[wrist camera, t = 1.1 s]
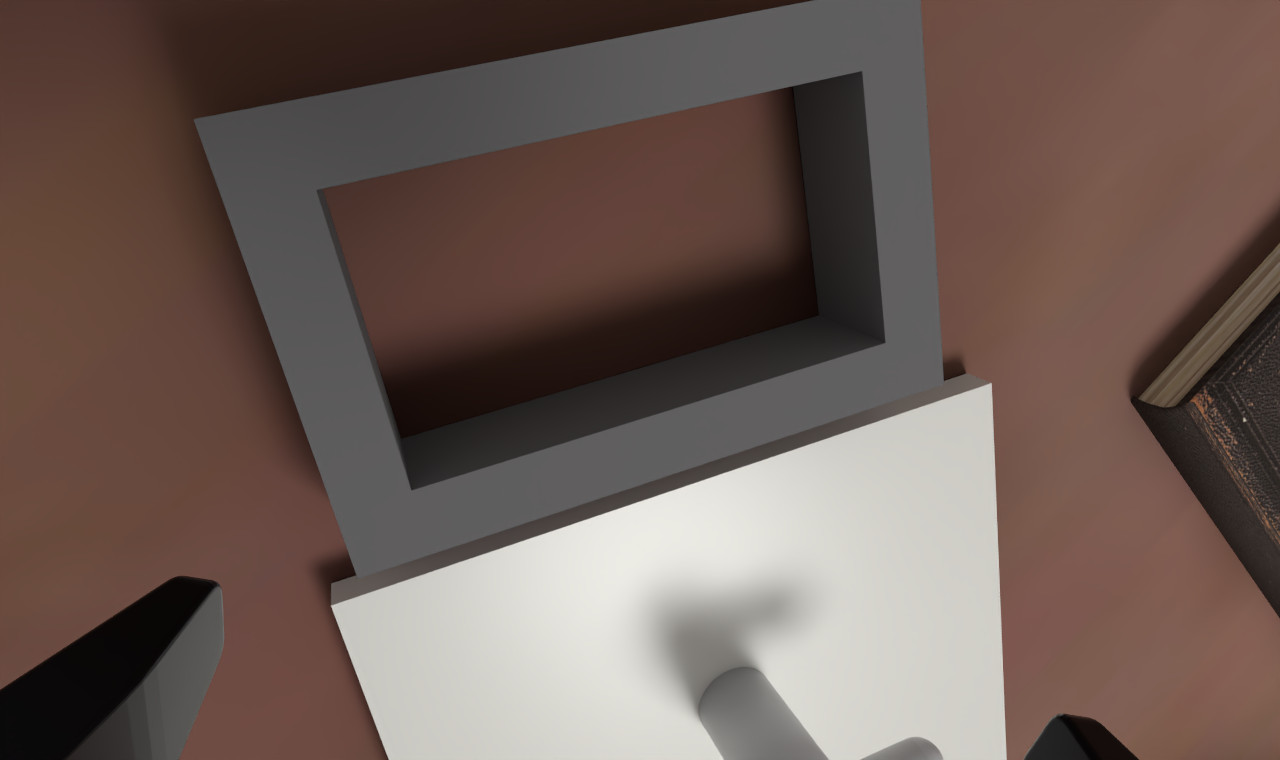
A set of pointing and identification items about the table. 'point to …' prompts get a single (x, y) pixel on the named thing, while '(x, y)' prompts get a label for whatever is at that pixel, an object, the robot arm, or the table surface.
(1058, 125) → the table surface
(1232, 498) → the hardcover book
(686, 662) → the hook board
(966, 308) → the table surface
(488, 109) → the grey rectangular frame
